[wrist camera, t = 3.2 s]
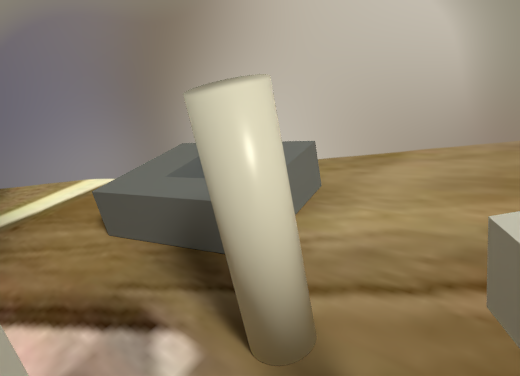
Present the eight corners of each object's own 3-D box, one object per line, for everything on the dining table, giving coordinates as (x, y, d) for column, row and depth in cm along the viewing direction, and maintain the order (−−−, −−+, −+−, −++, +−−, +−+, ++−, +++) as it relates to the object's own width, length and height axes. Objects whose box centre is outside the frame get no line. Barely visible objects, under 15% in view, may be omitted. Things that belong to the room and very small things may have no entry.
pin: (236, 354, 24) (164, 99, 18) (269, 309, 27) (216, 79, 21) (298, 374, 21) (239, 92, 16) (326, 322, 24) (285, 70, 19)
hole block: (108, 235, 42) (92, 191, 40) (192, 179, 53) (182, 143, 51) (255, 258, 32) (243, 203, 31) (321, 185, 43) (314, 140, 41)
